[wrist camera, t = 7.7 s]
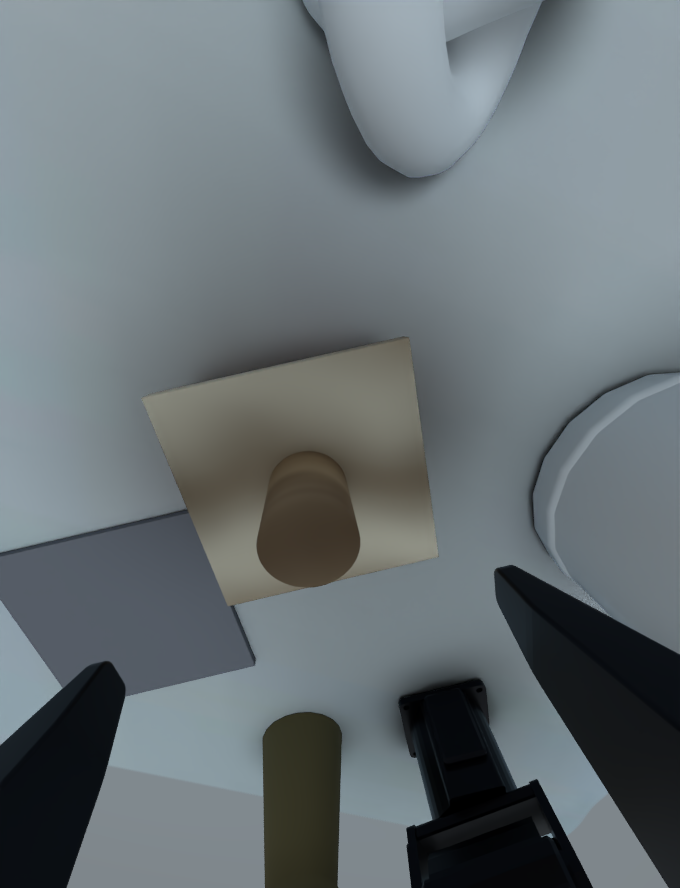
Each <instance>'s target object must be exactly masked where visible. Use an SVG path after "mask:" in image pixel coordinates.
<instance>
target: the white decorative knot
mask: <svg viewBox="0 0 680 888" xmlns="http://www.w3.org/2000/svg"><path fill="white" fill-rule="evenodd" d="M302 1H303V3H304V5H305V6H306V8H307V10H308V12H309V14H310V15H311V16H312V17H313V18H314V20H315V21H316V22H317V23H318V24H319V26H320V27H321V28H322V29H323V30H324V32H325V36H326V40H327V44H328V48H329V52H330V56H331V60H332V63H333V66H334V69H335V72H336V75H337V78H338V80H339V83H340V86H341V89H342V92H343V95H344V97H345V100H346V102H347V105H348V107H349V110H350V112H351V114H352V117H353V119H354V121H355V123H356V125H357V127H358V129H359V131H360V133H361V135H362V137H363V139H364V141H365V143H366V144H367V146H368V147H369V148H370V149H371V151H372V152H373V153H374V154H375V156H376V157H377V158H378V159H379V161H381V162H383V163H384V164H386V165H388V166H389V167H391V168H392V169H394V170H396V171H398V172H400V173H401V174H403V175H405V176H407V177H409V178H421V177H426V176H431V175H436V174H440V173H442V172H444V171H445V170H447V169H449V168H450V167H451V166H452V165H453V164H454V163H455V162H457V161H458V160H459V159H460V158H461V157H462V156H463V155H464V154H465V153H466V152H467V151H468V150H469V149H470V148H471V147H472V146H473V145H474V143H475V142H476V141H477V139H478V138H479V136H480V135H481V134H482V132H483V131H484V129H485V128H486V126H487V124H488V122H489V121H490V119H491V117H492V116H493V114H494V112H495V110H496V108H497V106H498V104H499V102H500V100H501V98H502V96H503V94H504V92H505V89H506V87H507V85H508V83H509V81H510V78H511V76H512V74H513V71H514V69H515V67H516V64H517V62H518V59H519V57H520V54H521V52H522V49H523V46H524V43H525V41H526V38H527V35H528V33H529V31H530V29H531V26H532V24H533V22H534V19H535V17H536V15H537V13H538V10H539V8H540V5H541V3H542V1H544V0H302Z"/></svg>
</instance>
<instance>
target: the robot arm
mask: <svg viewBox="0 0 680 888" xmlns="http://www.w3.org/2000/svg"><path fill="white" fill-rule="evenodd" d="M494 578H495V593H496V599H497V603H498V605H499V607H500V609H501V611H502V613H503V615H504V617H505V619H506V621H507V623H508V625H509V627H510V629H511V631H512V633H513V635H514V637H515V639H516V641H517V643H518V645H519V647H520V649H521V651H522V653H523V655H524V657H525V659H526V661H527V662H528V664H529V666H530V668H531V670H532V672H533V674H534V675H535V677H536V679H537V680H538V682H539V684H540V685H541V687H542V689H543V690H544V692H545V693H546V695H547V696H548V698H549V700H550V701H551V703H552V704H553V706H554V707H555V709H556V711H557V712H558V714H559V715H560V717H561V718H562V720H563V722H564V723H565V725H566V726H567V728H568V730H569V731H570V733H571V734H572V736H573V737H574V739H575V741H576V742H577V744H578V745H579V747H580V748H581V750H582V752H583V753H584V755H585V756H586V758H587V759H588V761H589V763H590V764H591V766H592V767H593V769H594V771H595V772H596V774H597V775H598V777H599V778H600V780H601V782H602V783H603V785H604V786H605V788H606V789H607V791H608V793H609V794H610V796H611V797H612V799H613V801H614V802H615V804H616V805H617V807H618V808H619V810H620V811H621V813H622V815H623V816H624V818H625V819H626V821H627V823H628V824H629V826H630V827H631V829H632V830H633V832H634V833H635V835H636V837H637V838H638V840H639V842H640V843H641V845H642V846H643V848H644V849H645V851H646V852H647V854H648V856H649V857H650V859H651V860H652V862H653V863H654V865H655V867H656V868H657V870H658V871H659V873H660V875H661V876H662V878H663V879H664V881H665V883H666V884H667V886H668V887H669V888H680V654H678V653H677V652H675V651H673V650H671V649H669V648H667V647H665V646H663V645H662V644H660V643H658V642H656V641H654V640H652V639H650V638H649V637H647V636H645V635H643V634H641V633H639V632H637V631H635V630H634V629H632V628H630V627H628V626H626V625H624V624H622V623H621V622H619V621H617V620H615V619H613V618H611V617H609V616H608V615H606V614H604V613H602V612H600V611H598V610H596V609H594V608H593V607H591V606H589V605H587V604H585V603H583V602H581V601H580V600H578V599H576V598H574V597H572V596H570V595H568V594H566V593H565V592H563V591H561V590H559V589H557V588H555V587H553V586H552V585H550V584H548V583H546V582H544V581H542V580H540V579H539V578H537V577H535V576H533V575H531V574H529V573H527V572H525V571H524V570H522V569H520V568H518V567H516V566H514V565H508V566H504V567H499V568H497V569H495V572H494ZM125 694H126V687H125V683H124V681H123V680H122V678H121V677H120V675H119V673H118V672H117V670H116V668H115V667H114V665H113V664H112V663H111V662H110V661H102V662H98V663H94V664H91V665H89V666H87V667H86V668H85V669H84V670H82V671H81V672H80V673H79V674H78V675H77V676H76V677H75V678H74V679H73V680H71V681H70V682H69V683H68V684H67V685H66V686H65V687H64V688H63V689H62V690H61V691H59V692H58V693H57V694H56V695H55V696H54V697H53V698H52V699H51V700H50V701H48V702H47V703H46V704H45V705H44V706H43V707H42V708H41V709H40V710H39V711H37V712H36V713H35V714H34V715H33V716H32V717H31V718H30V719H29V720H28V721H27V722H25V723H24V724H23V725H22V726H21V727H20V728H19V729H18V730H17V731H16V732H14V733H13V734H12V735H11V736H10V737H9V738H8V739H7V740H6V741H5V742H3V743H2V744H1V745H0V888H67V885H68V882H69V879H70V876H71V873H72V870H73V867H74V864H75V861H76V858H77V856H78V853H79V850H80V847H81V844H82V841H83V838H84V835H85V832H86V829H87V826H88V824H89V821H90V818H91V815H92V812H93V809H94V806H95V803H96V800H97V797H98V794H99V791H100V788H101V785H102V782H103V779H104V776H105V772H106V769H107V765H108V762H109V758H110V754H111V750H112V746H113V742H114V738H115V734H116V730H117V727H118V723H119V719H120V715H121V711H122V707H123V703H124V699H125ZM399 708H400V712H401V717H402V721H403V726H404V730H405V734H406V739H407V743H408V748H409V752H410V756H411V757H413V758H417V760H418V764H419V768H420V772H421V776H422V780H423V784H424V788H425V792H426V796H427V800H428V804H429V808H430V812H431V816H432V821H429V822H427V823H424V824H421V825H419V826H415V825H413V826H410V827H407V829H406V830H407V838H408V844H407V853H408V862H409V871H410V879H411V888H593V887H592V885H591V883H590V881H589V879H588V877H587V875H586V873H585V871H584V869H583V867H582V865H581V863H580V861H579V859H578V857H577V856H576V853H575V851H574V849H573V847H572V846H571V844H570V842H569V840H568V838H567V836H566V834H565V832H564V830H563V828H562V826H561V824H560V822H559V820H558V818H557V816H556V815H555V813H554V811H553V809H552V807H551V805H550V803H549V801H548V799H547V797H546V795H545V793H544V791H543V789H542V787H541V786H540V784H539V782H538V780H537V779H536V780H533V781H530V782H529V783H530V784H528V785H526V786H523V787H520V788H518V789H517V787H516V785H515V782H514V780H513V778H512V776H511V773H510V771H509V769H508V767H507V765H506V762H505V760H504V758H503V756H502V753H501V751H500V749H499V747H498V744H497V742H496V740H495V738H494V735H493V733H492V731H491V729H490V727H489V716H488V705H487V695H486V688H485V685H484V683H483V682H482V681H481V680H476V681H471V682H467V683H463V684H459V685H455V686H451V687H447V688H442V689H438V690H434V691H430V692H426V693H422V694H417V695H413V696H409V697H405V698H402V699H401V700H400V701H399ZM549 833H551V834H552V836H553V838H550V837H548V836H544V835H546V834H549ZM541 836H544V837H541Z"/></svg>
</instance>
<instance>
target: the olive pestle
mask: <svg viewBox="0 0 680 888" xmlns="http://www.w3.org/2000/svg"><path fill="white" fill-rule="evenodd" d="M341 744H342V733H341V730H340V727H339V725H338V724H337V723H336V722H335V721H333V720H332V719H331V718H329V717H326V716H324V715H322V714H316V713H311V712H308V713H296V714H292V715H288V716H285V717H283V718H281V719H279V720H277V721H275V722H274V723H273V724H272V725H271V726H270V727H269V728H268V729H267V730H266V732H265V734H264V736H263V792H264V849H265V850H264V851H265V852H264V853H265V854H264V855H265V888H338V886H337V880H338V846H339V845H338V844H339V812H340V778H341Z"/></svg>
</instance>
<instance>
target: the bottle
mask: <svg viewBox="0 0 680 888" xmlns="http://www.w3.org/2000/svg"><path fill="white" fill-rule="evenodd" d="M533 507H534V526H535V530H536V531H537V533H538V535H539V537H540V539H541V541H542V542H543V544H544V546H545V548H546V550H547V552H548V553H549V555H550V556H551V558H552V559H553V561H554V562H555V563H556V565H557V566H558V567H559V569H560V570H561V572H562V573H563V574H565V575H566V576H568V577H569V578H571V579H572V580H573V581H575V582H576V583H577V584H578V585H579V586H581V587H582V588H583V589H584V590H585V591H586V592H587V593H588V594H589V595H590V596H591V597H592V598H593V599H594V600H595V601H596V602H597V603H598V604H599V605H600V606H601V607H602V608H603V609H604V610H605V611H606V612H607V613H608V614H609V615H610V616H611V617H612V618H613V619H615V620H617V621H619V622H621V623H622V624H624V625H626V626H628V627H630V628H632V629H634V630H635V631H637V632H639V633H641V634H643V635H645V636H647V637H649V638H650V639H652V640H654V641H656V642H658V643H660V644H662V645H663V646H665V647H667V648H669V649H671V650H673V651H675V652H677V653H678V654H680V372H677V373H665V374H653V375H647V376H644V377H642V378H639V379H637V380H635V381H633V382H630V383H628V384H626V385H623V386H621V387H619V388H616V389H614V390H612V391H609V392H607V393H605V394H604V395H602V396H601V397H600V398H599V399H597V400H596V401H595V402H594V403H593V404H591V405H590V406H589V407H588V408H587V409H585V410H584V411H583V412H582V413H580V414H579V415H578V416H577V417H576V418H574V419H573V420H572V421H571V422H569V424H568V425H567V427H566V428H565V429H564V431H563V432H562V434H561V435H560V437H559V438H558V439H557V441H556V442H555V444H554V445H553V446H552V448H551V449H550V451H549V452H548V454H547V455H546V456H545V458H544V461H543V464H542V467H541V470H540V473H539V476H538V480H537V483H536V486H535V489H534V492H533Z"/></svg>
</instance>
